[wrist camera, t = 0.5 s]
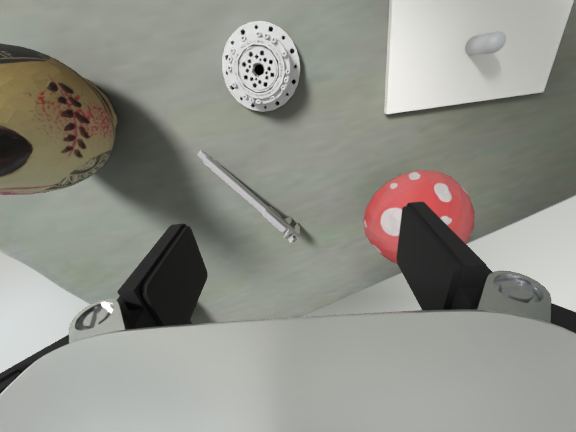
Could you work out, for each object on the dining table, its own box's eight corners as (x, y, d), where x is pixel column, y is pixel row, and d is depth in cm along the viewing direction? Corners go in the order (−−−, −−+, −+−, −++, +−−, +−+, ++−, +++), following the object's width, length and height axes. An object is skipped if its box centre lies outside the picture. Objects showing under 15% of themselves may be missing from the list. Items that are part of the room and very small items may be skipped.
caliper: (300, 223, 45) (300, 243, 40) (296, 226, 45) (296, 248, 40) (201, 149, 39) (186, 161, 33) (197, 154, 39) (182, 167, 34)
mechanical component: (286, 120, 36) (310, 40, 32) (285, 125, 32) (313, 36, 28) (218, 96, 35) (233, 9, 30) (209, 99, 31) (224, 0, 26)
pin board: (389, -7, 29) (408, -22, 24) (579, -42, 27) (640, -65, 22) (384, 113, 35) (398, 119, 31) (537, 91, 34) (577, 94, 29)
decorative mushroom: (380, 239, 46) (414, 305, 33) (335, 190, 41) (353, 244, 28) (450, 193, 41) (522, 249, 28) (407, 132, 37) (470, 166, 24)
